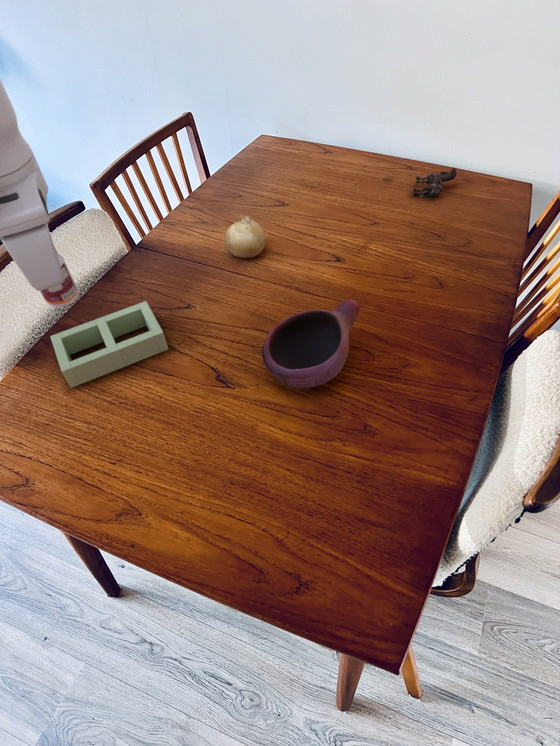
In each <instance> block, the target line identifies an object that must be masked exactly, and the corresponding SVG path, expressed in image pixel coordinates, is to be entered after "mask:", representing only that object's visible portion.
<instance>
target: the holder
mask: <svg viewBox="0 0 560 746" xmlns="http://www.w3.org/2000/svg"><path fill="white" fill-rule="evenodd" d="M145 327H146V328H147V330H148V331H146V332H143V333H141V334H138V335H136V336H133V337H130V338H128V339H125V340H122V341H120V342H118V343H116V341H115V338H118V337H120V336H123V335H126V334H128V333H131V332H134V331H136V330H139V329H141V328H145ZM50 340H51V343H52V346H53V349H54V350H53V351H54V352H55V356H56V359H57V362H58V365H59V368H60V372H61V373H62V375H63V377H64V378H65V380H66V382H67V383H68V385H69V387H70V388H71V389H73V388H75V387H78V386H80V385H82V384H86V383H87V382H90V381H92V380H95V379H98V378H99V377H102V376H105V375H107V374H111V373H112V372H116V371H118V370H121V369H123V368H125V367H127V366H130V365H133V364H136V363H137V362H140V361H143V360H145V359H147V358H149V357H153V356H155V355H158V354H160V353H163V352H166V351H169V346H168V343H167V342H168V341H167V340H166V336H165V333H164V330H163V329H162V327H161V326H160V324H159V322H158V320H157V319H156V316H155V315H154V313H153V311H152V309H151V307H150V305H149V303H148V302H147V300H144V301H142V302H140V303H137V304H134V305H131V306H128V307H126V308H122V309H120V310H118V311H114V312H112V313H108V314H107V315H104V316H101V317H98V318H96V319H93V320H90V321H88V322H85V323H82V324H80V325H76V326H73V327H71V328H69V329H65V330H63V331H60V332H58V333H55V334H53V335H52V334H51V335H50ZM102 343H104V345H105V347H104V348H101V349H99V350H96V351H94V352H92V353H89V354H86V355H84V356H81V357H78V358H75V359H72V357H71V355H73V354H76V353H78V352H81V351H84V350H86V349H89V348H92V347H95V346H97V345H100V344H102Z"/></svg>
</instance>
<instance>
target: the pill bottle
mask: <svg viewBox="0 0 560 746" xmlns="http://www.w3.org/2000/svg"><path fill="white" fill-rule="evenodd" d="M54 247H55V250H56V253H57V256H58V259H59V263H60V266H61V269H62V272H63V276H64V281H63V283H61V285H62V289H61V290H59V291H56V292H50V291H49V290H48V289H45V290H41V291H39V292H40V294H41V295H42V296H43V299H44V301H45V303H46V304H47V305H48V306H50V307H52V308H53V307H54V308H61V307H67V306H68V305H70V304H72V303H74V302H75V300H77V298H78V296H79V289H78V287H77V285H76V282H75V281H74V278H73V276H72V274H71V272H70V269H69V267H68V266H67V263H66V261H65V258H64V257H63V256H62V255H61V254H60V253H58V250H57V249H56V246H55V245H54Z"/></svg>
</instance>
